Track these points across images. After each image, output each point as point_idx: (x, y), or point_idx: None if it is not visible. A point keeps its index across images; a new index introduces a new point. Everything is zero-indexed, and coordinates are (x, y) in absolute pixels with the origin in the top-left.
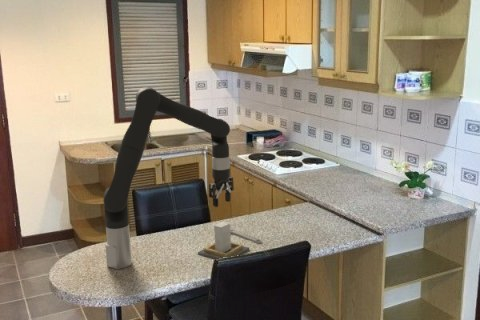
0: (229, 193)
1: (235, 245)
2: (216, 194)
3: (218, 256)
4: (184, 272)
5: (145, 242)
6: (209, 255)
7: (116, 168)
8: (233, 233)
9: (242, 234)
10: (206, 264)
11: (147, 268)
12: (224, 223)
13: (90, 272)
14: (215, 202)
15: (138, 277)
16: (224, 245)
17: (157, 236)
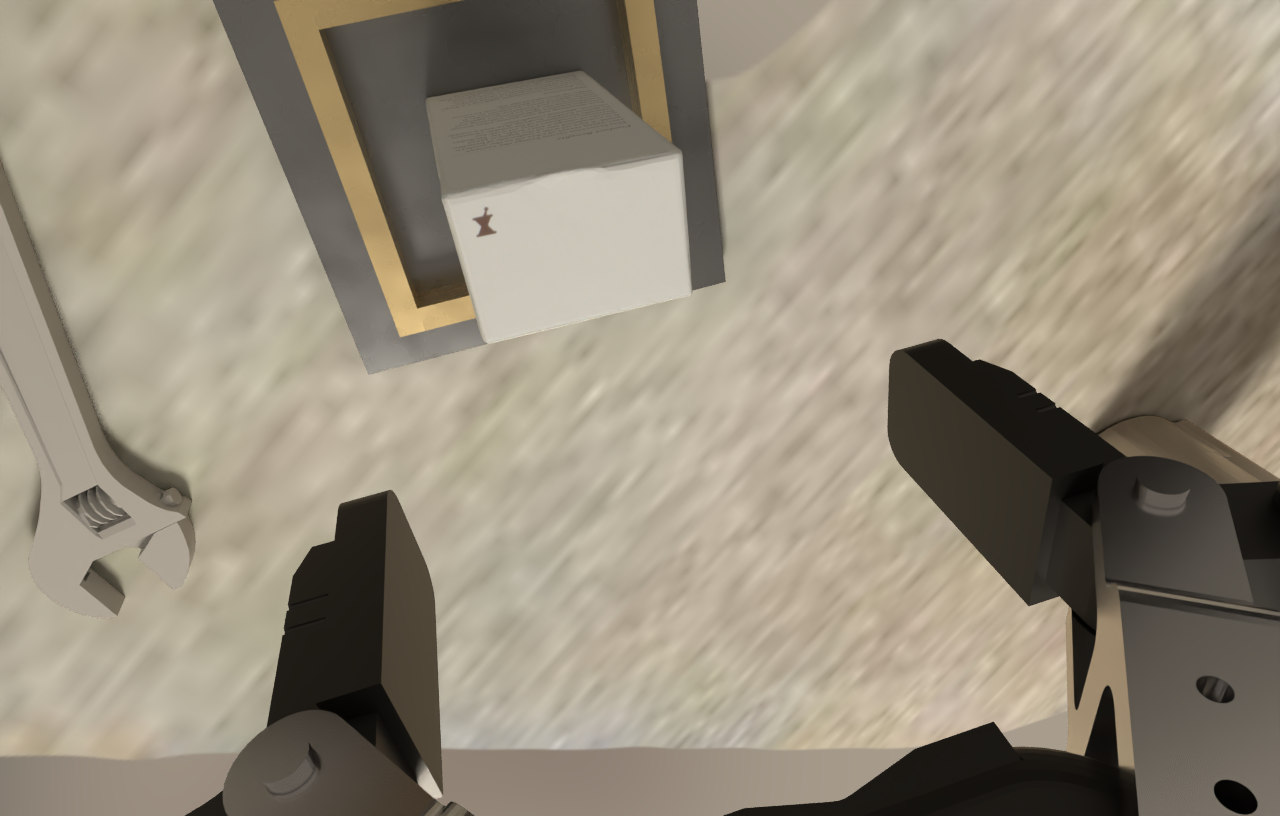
0: (353, 700)
1: (346, 99)
2: (1233, 588)
3: (667, 41)
4: (1058, 42)
5: (791, 661)
6: (709, 139)
7: None
8: (102, 448)
9: (17, 354)
10: (833, 23)
11: (1103, 318)
12: (521, 255)
13: None
14: (1062, 411)
15: (1238, 236)
16: (561, 89)
17: (673, 704)
